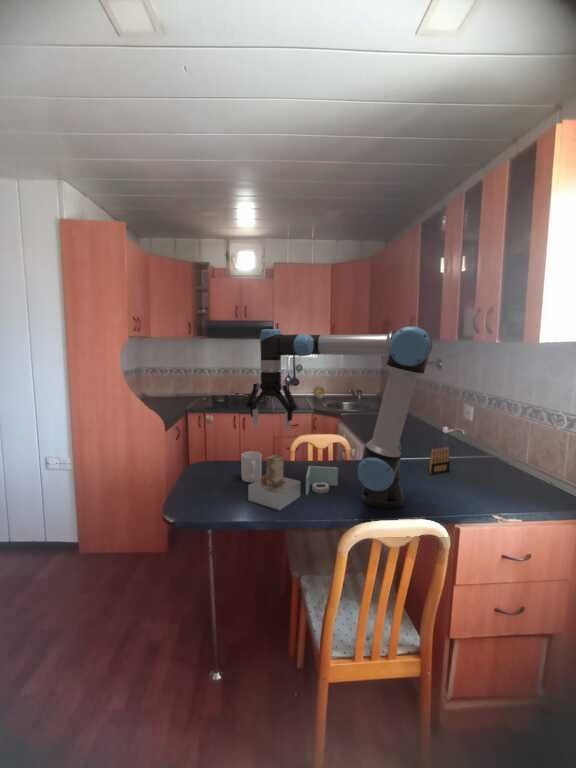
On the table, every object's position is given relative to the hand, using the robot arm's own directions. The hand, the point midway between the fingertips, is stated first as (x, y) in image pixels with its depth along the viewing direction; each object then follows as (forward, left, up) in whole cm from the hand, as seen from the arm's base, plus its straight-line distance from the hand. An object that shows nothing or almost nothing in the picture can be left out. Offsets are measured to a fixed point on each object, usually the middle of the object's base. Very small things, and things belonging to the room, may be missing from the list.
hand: (271, 427), depth 138 cm
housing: (-3, +2, -26) cm, 27 cm away
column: (-3, +2, -26) cm, 27 cm away
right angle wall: (-14, -15, -27) cm, 34 cm away
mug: (+15, -7, -27) cm, 31 cm away
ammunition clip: (-49, -62, -27) cm, 83 cm away
